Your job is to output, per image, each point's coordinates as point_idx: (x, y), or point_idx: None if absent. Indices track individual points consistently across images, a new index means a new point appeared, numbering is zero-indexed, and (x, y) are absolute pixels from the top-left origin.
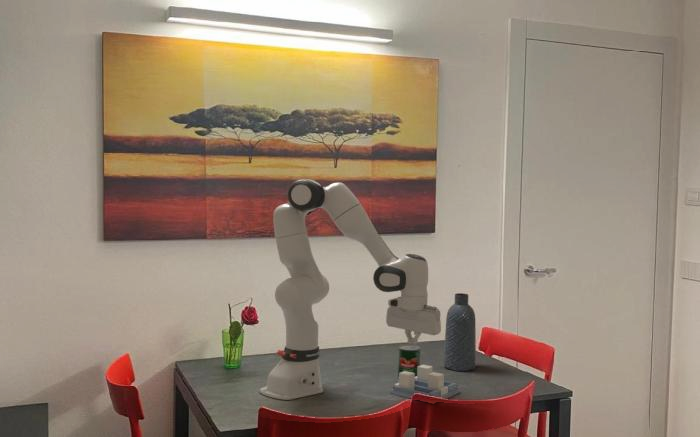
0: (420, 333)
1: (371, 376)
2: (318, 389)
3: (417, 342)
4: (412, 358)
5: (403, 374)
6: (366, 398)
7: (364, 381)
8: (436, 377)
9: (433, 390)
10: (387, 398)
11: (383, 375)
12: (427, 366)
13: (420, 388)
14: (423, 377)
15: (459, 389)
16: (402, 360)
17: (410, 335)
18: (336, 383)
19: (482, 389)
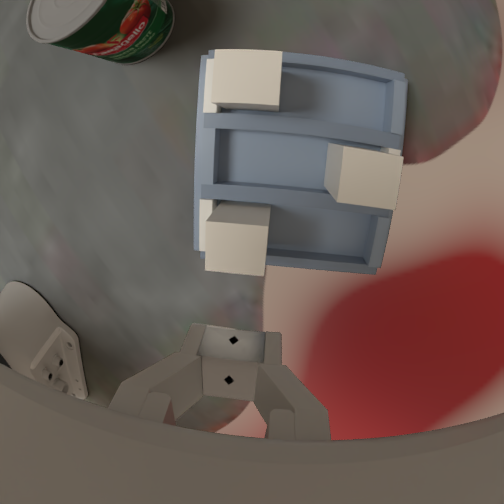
0: (325, 425)
1: (48, 124)
2: (68, 340)
3: (280, 338)
4: (122, 20)
5: (231, 272)
6: (174, 324)
7: (63, 185)
8: (383, 207)
9: (363, 213)
10: (220, 293)
11: (66, 84)
12: (255, 64)
13: (298, 204)
14: (258, 108)
15: (407, 84)
16: (88, 50)
17: (182, 385)
18: (39, 254)
19: (436, 15)
